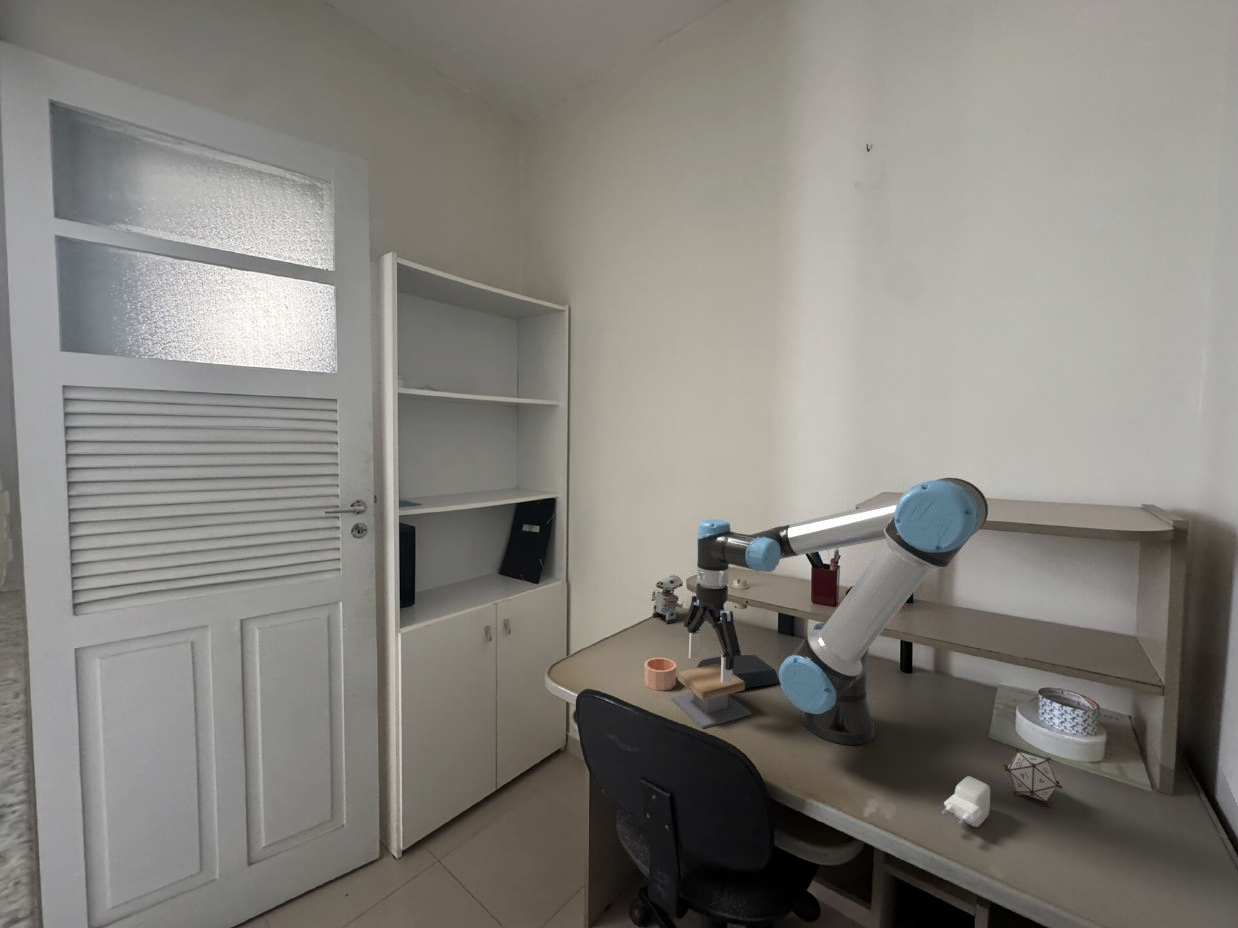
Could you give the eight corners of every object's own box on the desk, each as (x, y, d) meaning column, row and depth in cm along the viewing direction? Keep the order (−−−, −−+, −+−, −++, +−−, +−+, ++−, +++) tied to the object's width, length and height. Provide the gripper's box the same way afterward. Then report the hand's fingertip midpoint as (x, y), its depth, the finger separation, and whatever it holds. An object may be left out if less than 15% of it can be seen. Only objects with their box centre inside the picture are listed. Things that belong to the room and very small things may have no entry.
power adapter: (967, 847, 84) (968, 812, 84) (935, 828, 88) (936, 795, 88) (994, 818, 91) (995, 785, 90) (963, 801, 95) (964, 771, 94)
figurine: (689, 619, 187) (689, 578, 186) (663, 625, 181) (664, 583, 180) (673, 611, 195) (673, 572, 194) (648, 617, 189) (649, 576, 188)
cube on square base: (751, 714, 124) (752, 691, 123) (702, 728, 118) (703, 704, 117) (716, 688, 136) (717, 667, 136) (670, 699, 130) (671, 678, 130)
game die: (1035, 823, 95) (1040, 800, 89) (990, 780, 102) (992, 756, 96) (1071, 794, 96) (1078, 770, 90) (1024, 754, 103) (1028, 729, 98)
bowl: (681, 686, 137) (681, 667, 137) (654, 692, 134) (654, 673, 134) (665, 672, 145) (665, 655, 145) (639, 678, 141) (639, 660, 141)
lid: (744, 689, 124) (744, 681, 124) (702, 700, 119) (703, 692, 119) (717, 670, 134) (717, 663, 134) (677, 679, 129) (677, 672, 129)
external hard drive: (693, 670, 145) (694, 656, 145) (754, 664, 151) (755, 650, 150) (715, 693, 133) (716, 677, 132) (780, 685, 138) (781, 670, 138)
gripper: (672, 572, 135) (670, 651, 136) (731, 602, 112) (728, 696, 114) (696, 569, 138) (694, 646, 140) (758, 597, 116) (755, 689, 117)
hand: (709, 669), depth 127 cm, fingers open, 13 cm apart
